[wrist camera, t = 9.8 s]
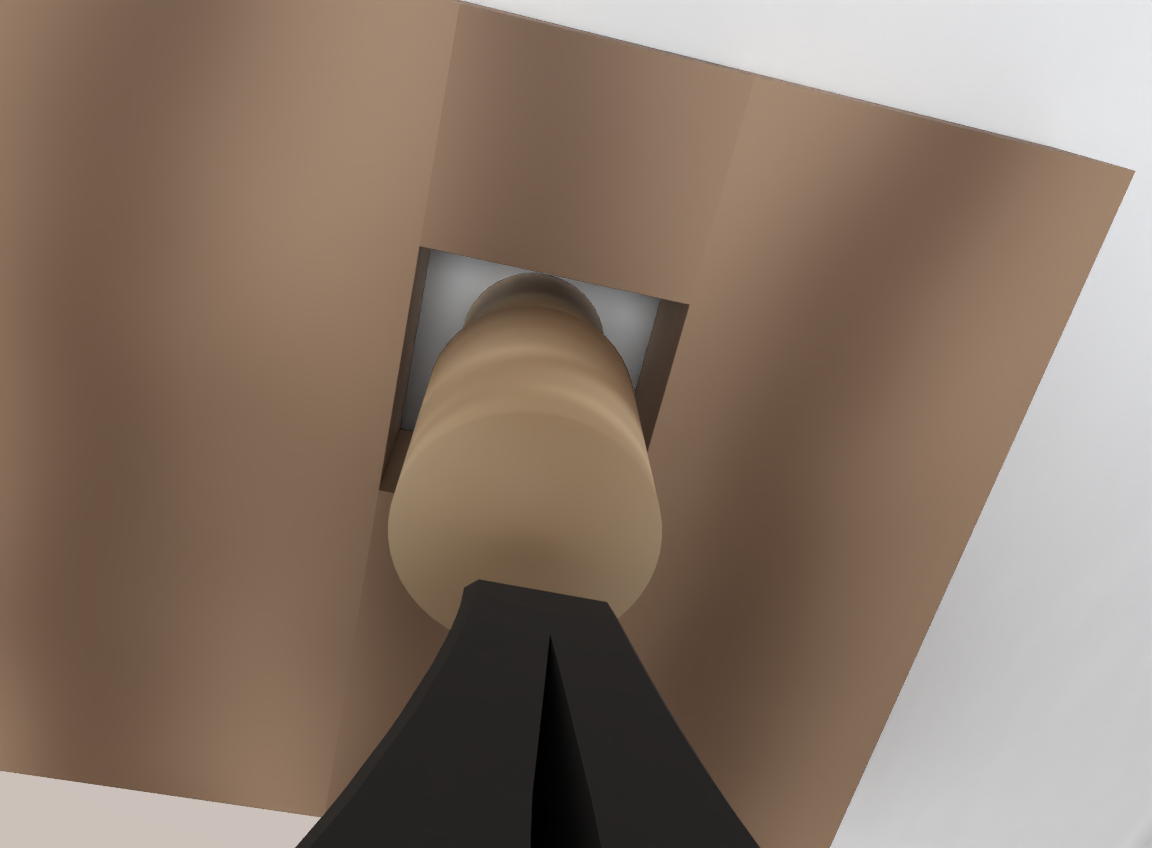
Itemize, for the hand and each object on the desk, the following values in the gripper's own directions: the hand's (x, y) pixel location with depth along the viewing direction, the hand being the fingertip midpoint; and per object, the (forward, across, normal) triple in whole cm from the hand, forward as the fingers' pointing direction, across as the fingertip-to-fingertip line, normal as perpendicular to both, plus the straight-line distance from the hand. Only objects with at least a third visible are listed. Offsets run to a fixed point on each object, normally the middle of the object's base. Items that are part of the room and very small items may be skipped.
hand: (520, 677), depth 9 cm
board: (+9, +1, +2) cm, 10 cm away
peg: (+9, 0, 0) cm, 9 cm away
